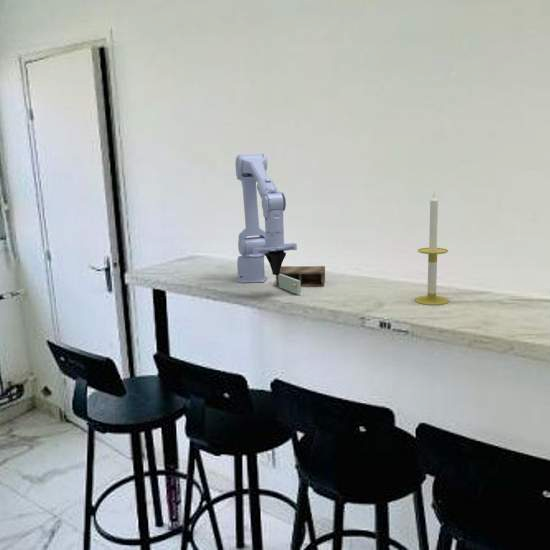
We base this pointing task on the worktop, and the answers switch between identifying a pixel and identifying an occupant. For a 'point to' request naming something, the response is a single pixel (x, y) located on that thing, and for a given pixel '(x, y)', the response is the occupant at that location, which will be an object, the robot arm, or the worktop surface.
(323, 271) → the cabinet
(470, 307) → the worktop surface
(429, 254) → the candle
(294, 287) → the door
